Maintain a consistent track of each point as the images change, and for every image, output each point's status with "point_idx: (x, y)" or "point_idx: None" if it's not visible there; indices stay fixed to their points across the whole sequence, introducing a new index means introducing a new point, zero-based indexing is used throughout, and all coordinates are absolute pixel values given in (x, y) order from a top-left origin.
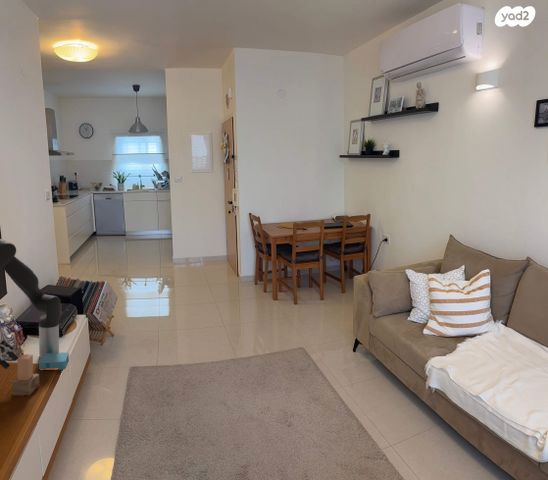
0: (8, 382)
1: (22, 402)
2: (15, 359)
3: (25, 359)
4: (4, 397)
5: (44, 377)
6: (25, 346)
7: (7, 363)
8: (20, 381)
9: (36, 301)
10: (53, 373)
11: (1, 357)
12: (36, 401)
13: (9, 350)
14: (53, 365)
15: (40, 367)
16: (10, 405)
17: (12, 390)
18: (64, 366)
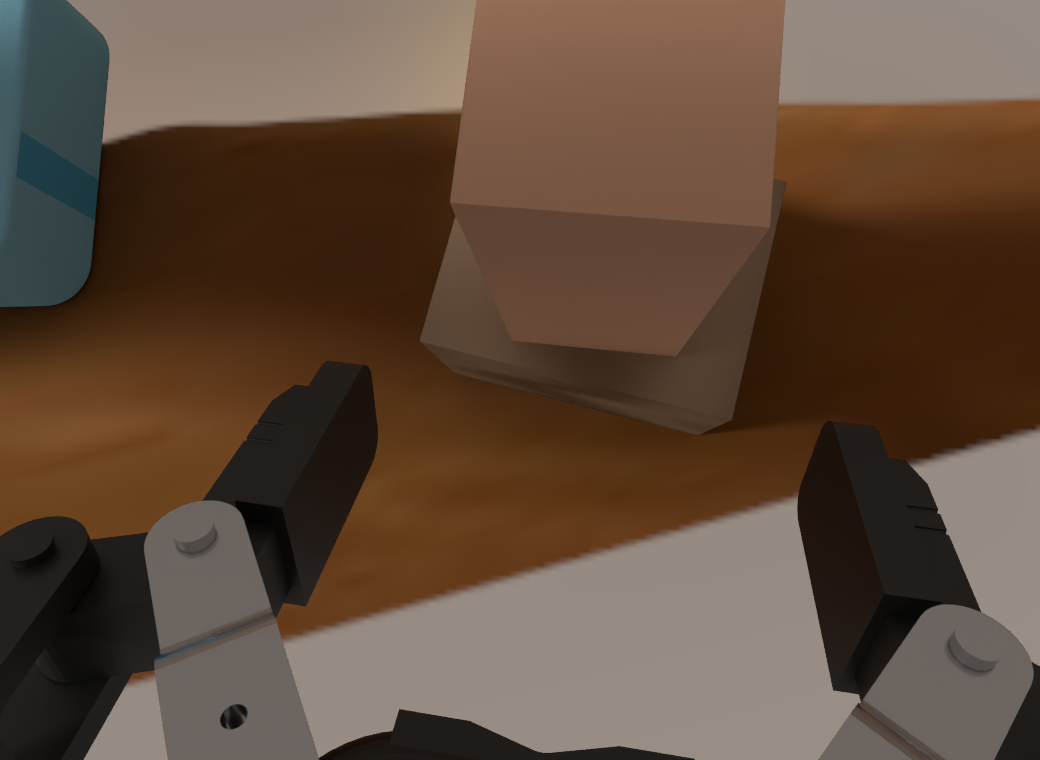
0: (335, 580)
1: (910, 270)
2: (369, 424)
3: (774, 31)
4: (755, 509)
5: (273, 197)
6: None
7: (876, 471)
8: (714, 308)
9: None
10: (181, 126)
11: (940, 686)
12: (899, 129)
13: (250, 589)
14: (56, 106)
15: (52, 267)
16: (975, 382)
17: (708, 429)
18: (72, 6)
